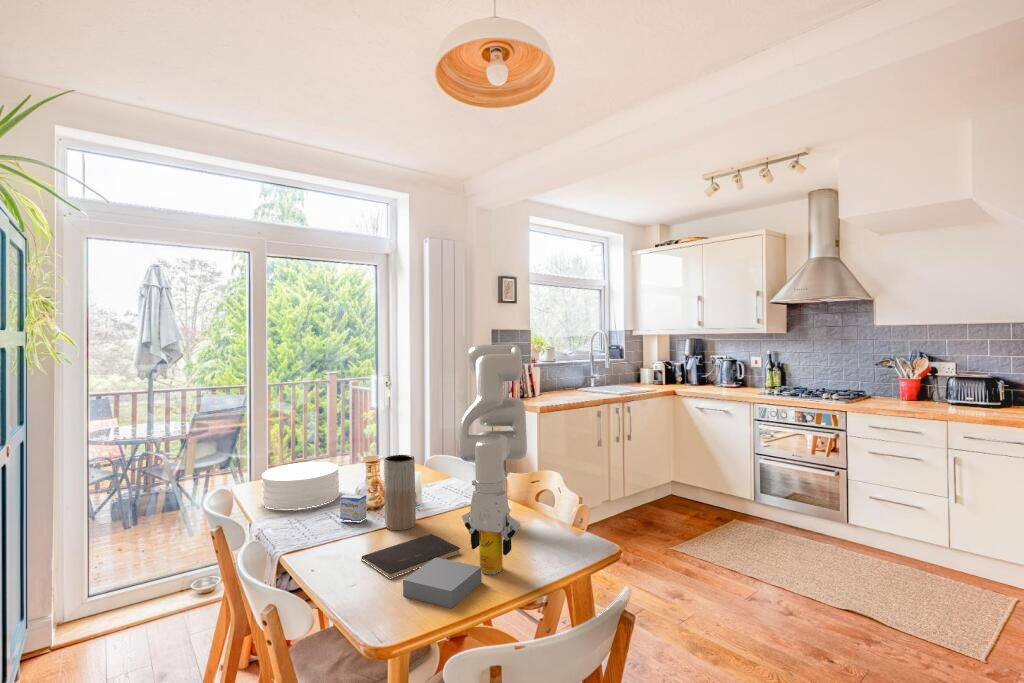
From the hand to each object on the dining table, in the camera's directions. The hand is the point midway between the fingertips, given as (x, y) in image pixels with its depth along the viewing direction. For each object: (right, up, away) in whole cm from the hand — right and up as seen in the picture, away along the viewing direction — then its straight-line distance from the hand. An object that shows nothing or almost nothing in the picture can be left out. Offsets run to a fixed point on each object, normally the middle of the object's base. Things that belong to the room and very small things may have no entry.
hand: (490, 550), depth 140 cm
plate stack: (-77, -7, +66) cm, 102 cm away
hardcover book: (-23, -7, +9) cm, 26 cm away
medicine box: (-49, -6, +40) cm, 64 cm away
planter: (-32, -6, +35) cm, 48 cm away
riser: (-12, -6, -10) cm, 16 cm away
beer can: (0, -6, 0) cm, 6 cm away
